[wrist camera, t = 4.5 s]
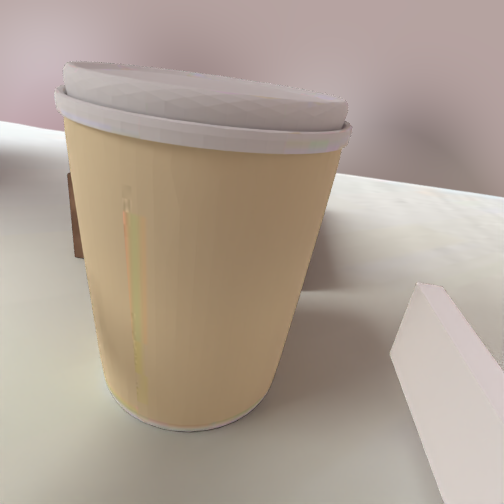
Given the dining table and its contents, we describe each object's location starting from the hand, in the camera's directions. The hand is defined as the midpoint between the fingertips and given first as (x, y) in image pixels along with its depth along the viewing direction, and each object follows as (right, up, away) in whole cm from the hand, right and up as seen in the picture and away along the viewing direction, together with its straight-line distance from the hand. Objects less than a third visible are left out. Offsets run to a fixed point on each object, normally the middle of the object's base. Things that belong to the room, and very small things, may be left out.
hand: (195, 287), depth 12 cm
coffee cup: (-1, -4, +6) cm, 7 cm away
